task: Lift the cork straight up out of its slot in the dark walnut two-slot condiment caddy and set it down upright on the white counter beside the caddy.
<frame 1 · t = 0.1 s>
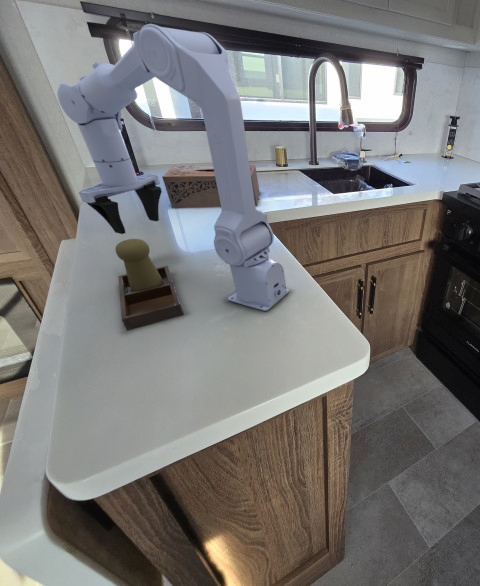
hand: (138, 226, 70), 10 cm above the worktop, tool pointing down, fingers open, 7 cm apart
cork: (150, 290, 69), resting in caddy
tissue box cover: (219, 200, 116), on the worktop
caddy: (151, 299, 66), on the worktop
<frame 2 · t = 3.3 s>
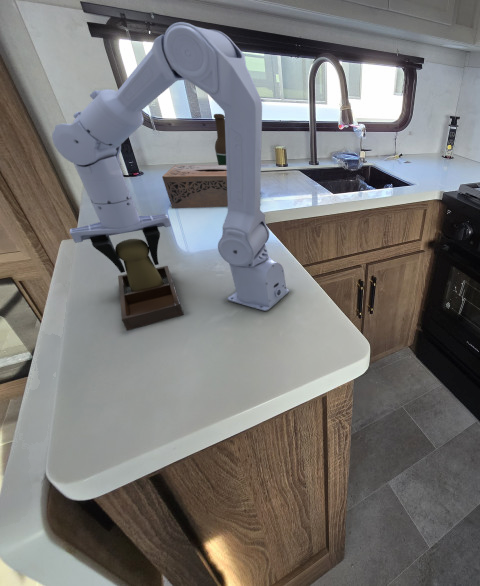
hand: (139, 266, 65), 6 cm above the worktop, tool pointing down, fingers closed on cork, 5 cm apart
cork: (149, 290, 69), resting in caddy, touching gripper
everything else where it was.
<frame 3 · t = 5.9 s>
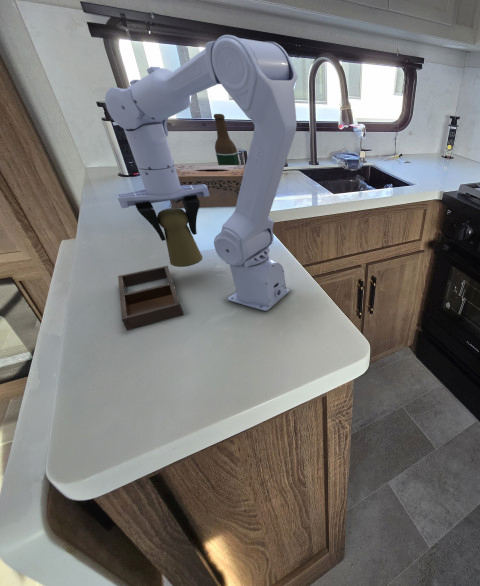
hand: (179, 235, 67), 10 cm above the worktop, tool pointing down, fingers closed on cork, 5 cm apart
cork: (186, 260, 70), point 5 cm above the worktop, touching gripper
everything else where it was.
when the fingers open (6 cm above the worktop, at t = 8.4 s): cork stays where it is, on the worktop.
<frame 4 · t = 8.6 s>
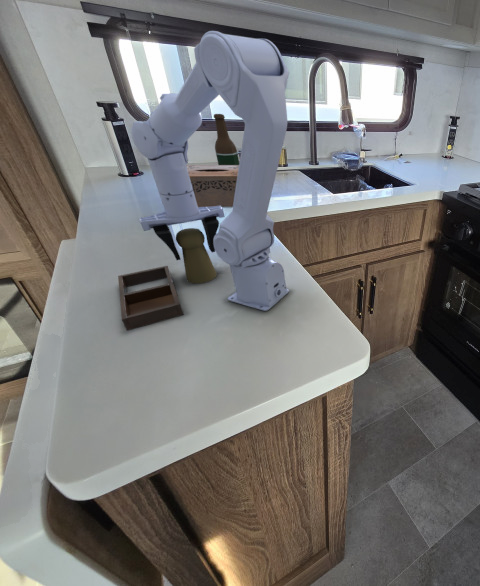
hand: (195, 254, 71), 6 cm above the worktop, tool pointing down, fingers open, 6 cm apart
cork: (202, 277, 74), on the worktop
everything else where it was.
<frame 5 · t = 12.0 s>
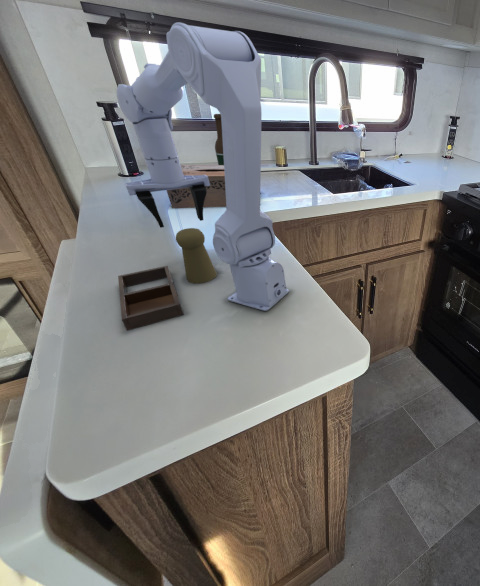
hand: (181, 222, 73), 10 cm above the worktop, tool pointing down, fingers open, 7 cm apart
nothing on the worktop moved.
at the end: cork inside the target area (0.1 cm from its centre), on the worktop; cork tilted 0°; the gripper is holding nothing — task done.
